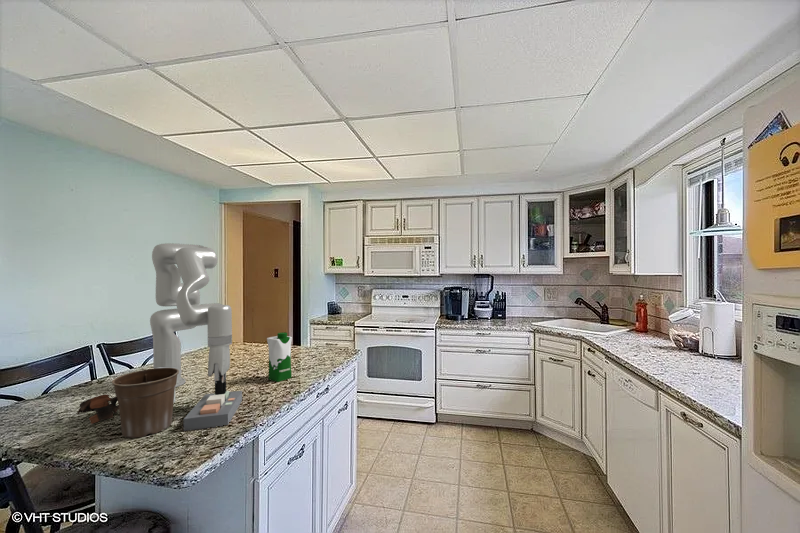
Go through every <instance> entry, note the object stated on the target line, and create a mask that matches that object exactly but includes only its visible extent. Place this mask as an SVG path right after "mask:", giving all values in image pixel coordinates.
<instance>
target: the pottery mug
mask: <svg viewBox="0 0 800 533" xmlns="http://www.w3.org/2000/svg"><path fill="white" fill-rule="evenodd" d="M117 404H118V399H117V396H116V395H115V396H114V397H110V396H109V394H101V395H98V396H95V397H91V398H89V399H86V400H84V401H82V402H81V403H80V404H79V407H80V408H79V409H78V411H77V415H79V414H80V413H81V414H82V413H88V412H95V414H94V415H92V416H90V417H89V418H88V419H89V422H90V424H91V425H93V424H95V423H98V422H101V421H104V420H108V419H113V418H114V414H117V413H118V412H119V406H118V405H117Z"/></svg>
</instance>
